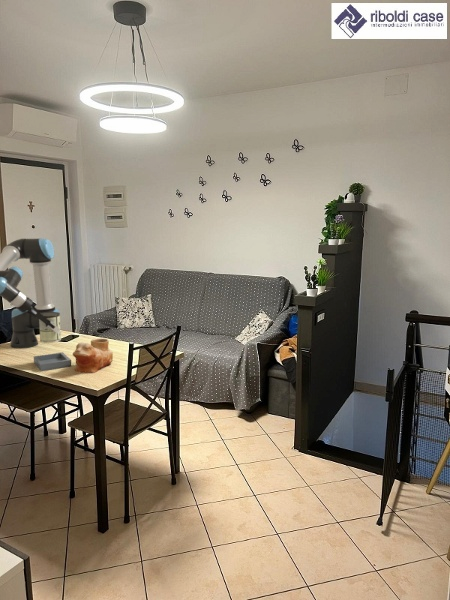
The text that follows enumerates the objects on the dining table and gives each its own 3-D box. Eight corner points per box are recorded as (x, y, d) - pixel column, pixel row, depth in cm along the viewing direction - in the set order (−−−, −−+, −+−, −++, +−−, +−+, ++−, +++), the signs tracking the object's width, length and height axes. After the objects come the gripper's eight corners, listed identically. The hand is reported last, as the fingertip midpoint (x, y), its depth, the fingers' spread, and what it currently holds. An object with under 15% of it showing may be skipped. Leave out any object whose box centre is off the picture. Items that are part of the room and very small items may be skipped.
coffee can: (38, 339, 233) (36, 313, 230) (58, 337, 238) (57, 311, 236) (42, 343, 224) (40, 316, 222) (63, 341, 230) (62, 314, 228)
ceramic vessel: (65, 373, 220) (63, 344, 218) (97, 359, 244) (96, 332, 242) (88, 377, 216) (87, 347, 213) (118, 361, 240) (118, 334, 237)
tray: (33, 362, 237) (33, 356, 236) (62, 358, 245) (62, 352, 244) (41, 371, 223) (40, 364, 222) (71, 366, 231) (71, 359, 230)
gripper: (12, 304, 229) (46, 330, 240) (20, 311, 211) (56, 339, 222) (22, 293, 231) (55, 320, 242) (31, 299, 213) (67, 327, 224)
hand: (56, 329), depth 232 cm, fingers closed on coffee can, 10 cm apart
